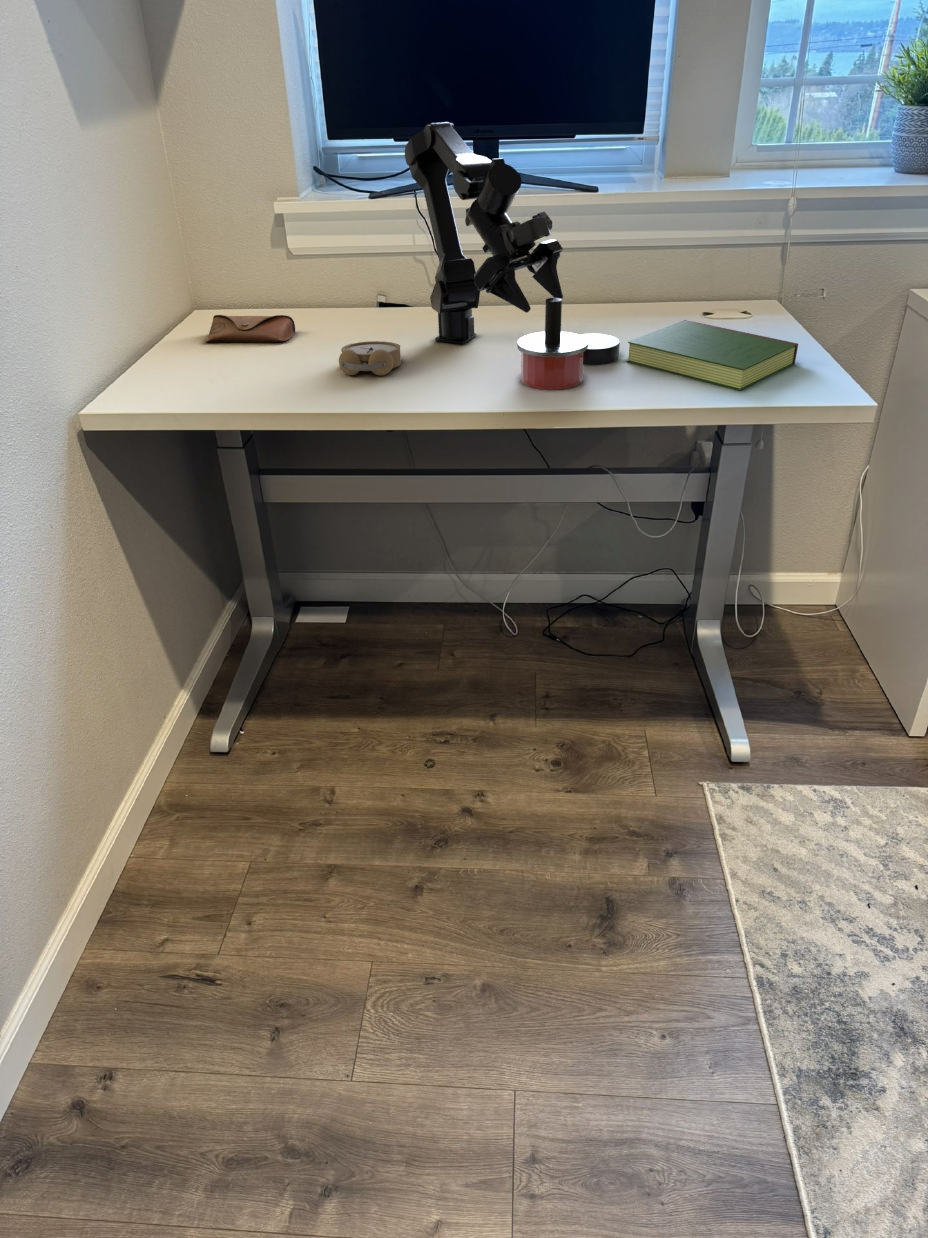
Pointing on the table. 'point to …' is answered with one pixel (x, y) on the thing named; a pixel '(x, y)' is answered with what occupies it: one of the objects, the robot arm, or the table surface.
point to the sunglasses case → (251, 329)
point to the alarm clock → (370, 357)
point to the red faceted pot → (552, 371)
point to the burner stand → (601, 349)
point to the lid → (552, 336)
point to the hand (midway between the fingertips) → (545, 304)
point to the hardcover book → (712, 354)
